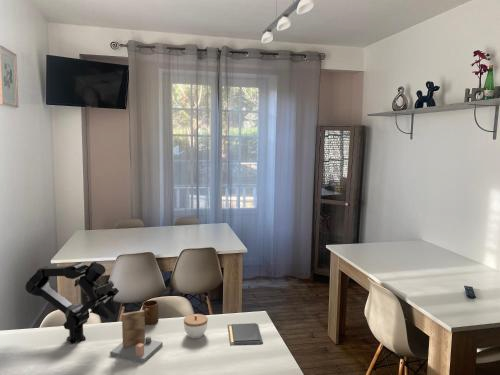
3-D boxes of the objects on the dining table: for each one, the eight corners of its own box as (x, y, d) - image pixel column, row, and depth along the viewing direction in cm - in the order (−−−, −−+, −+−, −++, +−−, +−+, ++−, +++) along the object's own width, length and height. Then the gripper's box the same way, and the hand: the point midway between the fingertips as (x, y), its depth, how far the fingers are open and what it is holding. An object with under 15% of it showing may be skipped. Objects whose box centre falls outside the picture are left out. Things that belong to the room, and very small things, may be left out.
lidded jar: (211, 336, 175) (211, 317, 174) (190, 343, 169) (190, 322, 168) (200, 327, 184) (200, 308, 183) (180, 333, 178) (179, 313, 177)
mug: (152, 329, 181) (152, 310, 180) (137, 329, 182) (136, 309, 181) (160, 318, 193) (160, 300, 192) (145, 317, 194) (145, 299, 193)
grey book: (263, 342, 169) (228, 343, 168) (263, 346, 169) (228, 347, 168) (258, 321, 189) (227, 322, 188) (258, 324, 189) (227, 325, 188)
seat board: (110, 355, 159) (110, 342, 158) (131, 339, 172) (130, 327, 172) (143, 362, 154) (143, 349, 153) (162, 345, 167) (162, 333, 167)
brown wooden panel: (144, 341, 167) (143, 309, 165) (144, 342, 165) (144, 311, 164) (122, 345, 163) (121, 313, 161) (123, 347, 161) (122, 315, 160)
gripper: (84, 283, 155) (108, 314, 153) (115, 270, 173) (136, 297, 171) (69, 300, 159) (92, 330, 156) (100, 284, 176) (121, 311, 174)
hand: (112, 316), depth 164 cm, fingers open, 4 cm apart
